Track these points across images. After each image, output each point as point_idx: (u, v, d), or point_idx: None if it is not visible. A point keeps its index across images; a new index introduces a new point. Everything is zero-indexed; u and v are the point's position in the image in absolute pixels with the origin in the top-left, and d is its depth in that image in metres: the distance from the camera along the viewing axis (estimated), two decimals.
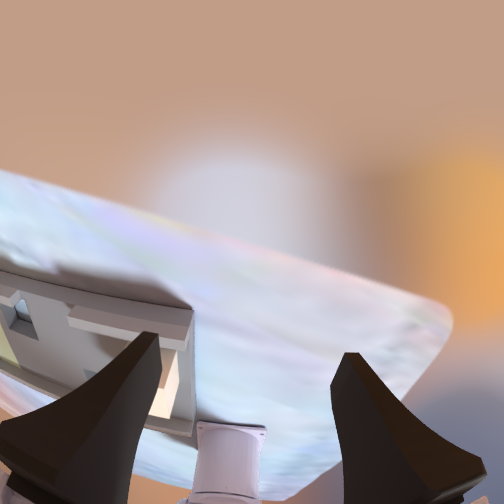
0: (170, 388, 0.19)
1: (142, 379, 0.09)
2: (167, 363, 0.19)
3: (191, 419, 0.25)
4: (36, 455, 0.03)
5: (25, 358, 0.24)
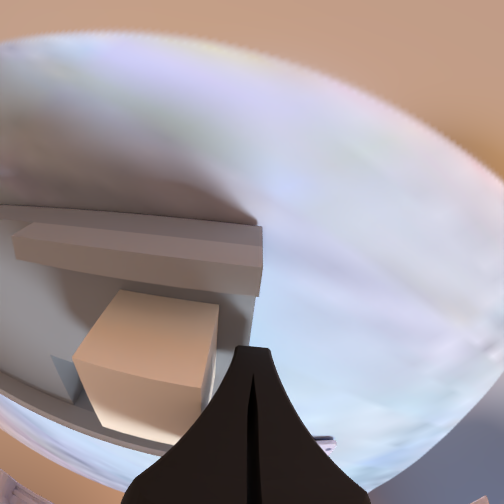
0: (207, 387, 0.09)
1: None
2: (201, 330, 0.09)
3: None
4: None
5: None
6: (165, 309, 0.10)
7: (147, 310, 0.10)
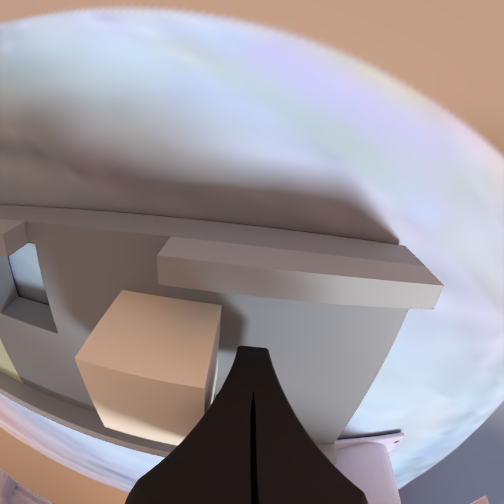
0: (210, 387, 0.09)
1: None
2: (204, 330, 0.09)
3: (333, 441, 0.15)
4: None
5: (29, 366, 0.14)
6: (168, 309, 0.10)
7: (149, 310, 0.10)
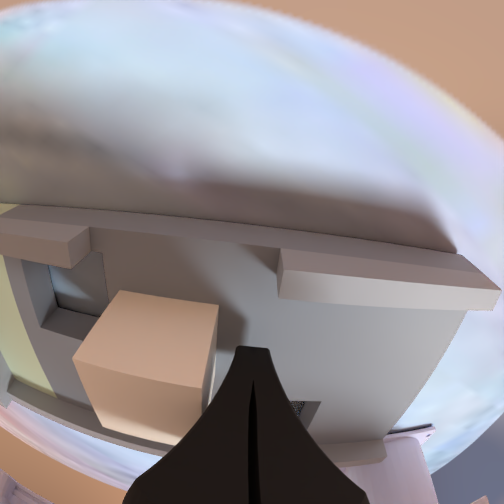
0: (207, 387, 0.09)
1: None
2: (201, 330, 0.09)
3: (382, 436, 0.15)
4: None
5: (70, 382, 0.14)
6: (165, 309, 0.10)
7: (147, 311, 0.10)
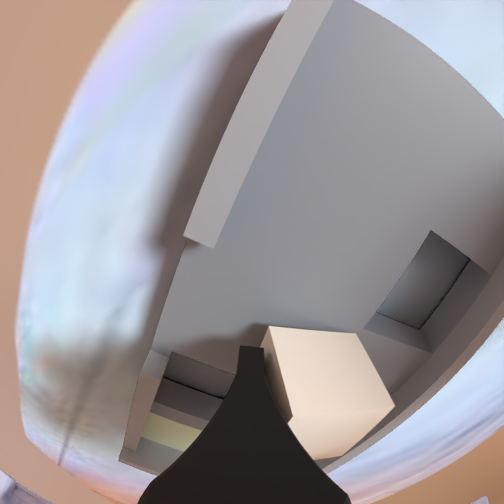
0: (328, 381, 0.09)
1: None
2: (273, 363, 0.09)
3: None
4: None
5: None
6: None
7: None
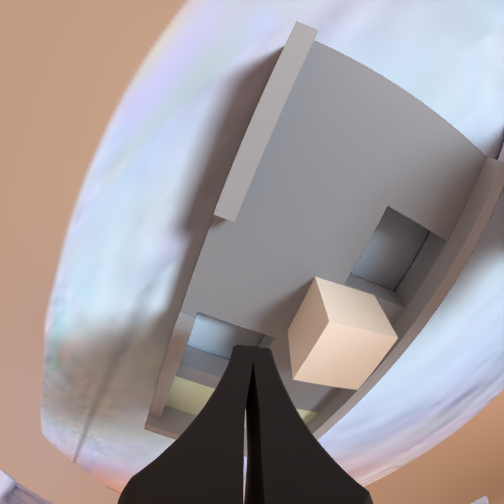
0: (352, 311, 0.13)
1: None
2: (317, 297, 0.14)
3: (482, 155, 0.12)
4: None
5: (301, 391, 0.20)
6: (303, 311, 0.16)
7: (299, 322, 0.16)
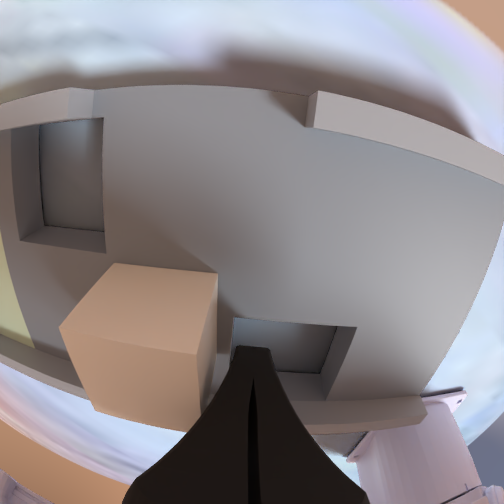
0: (206, 361, 0.08)
1: (249, 396, 0.09)
2: (199, 297, 0.09)
3: (420, 391, 0.13)
4: None
5: (48, 319, 0.12)
6: (160, 279, 0.09)
7: (141, 280, 0.09)
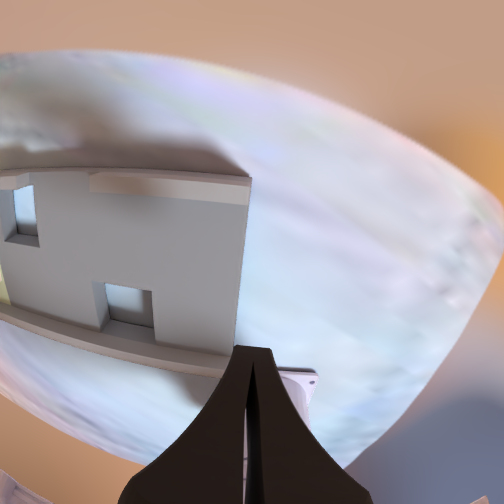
0: None
1: None
2: None
3: (230, 353, 0.21)
4: None
5: (17, 284, 0.20)
6: None
7: None
